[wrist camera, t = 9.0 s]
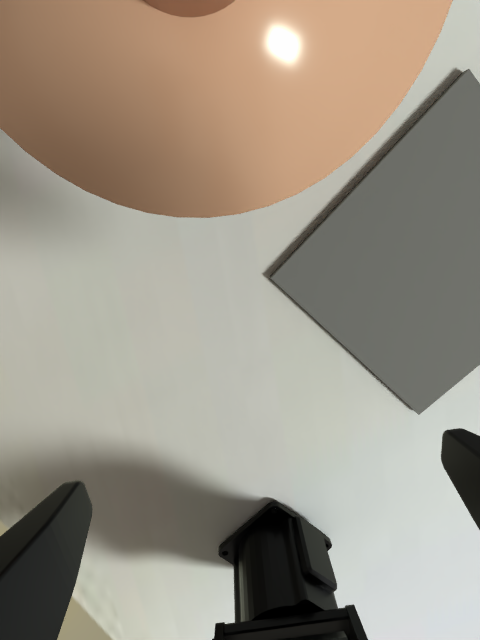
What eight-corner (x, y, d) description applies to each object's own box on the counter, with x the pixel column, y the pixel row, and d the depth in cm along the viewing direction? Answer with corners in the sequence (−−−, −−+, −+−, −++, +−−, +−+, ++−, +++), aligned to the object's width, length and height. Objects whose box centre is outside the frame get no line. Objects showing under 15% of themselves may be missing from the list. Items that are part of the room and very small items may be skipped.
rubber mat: (415, 411, 24) (418, 414, 23) (269, 277, 20) (270, 278, 20) (598, 259, 21) (605, 260, 20) (463, 72, 17) (468, 69, 17)
